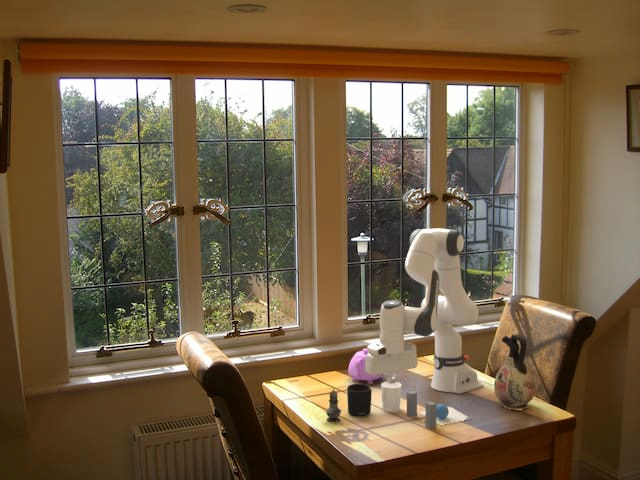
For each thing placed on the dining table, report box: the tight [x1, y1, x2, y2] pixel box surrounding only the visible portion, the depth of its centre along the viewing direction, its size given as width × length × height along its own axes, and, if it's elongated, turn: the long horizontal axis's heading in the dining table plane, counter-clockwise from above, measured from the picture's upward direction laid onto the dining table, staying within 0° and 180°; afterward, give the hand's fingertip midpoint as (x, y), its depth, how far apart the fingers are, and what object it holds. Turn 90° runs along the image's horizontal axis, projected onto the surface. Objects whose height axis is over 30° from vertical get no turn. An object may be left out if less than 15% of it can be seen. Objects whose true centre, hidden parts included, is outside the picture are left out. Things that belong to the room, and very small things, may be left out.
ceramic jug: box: [493, 334, 536, 410], centre depth 270 cm, size 17×15×30 cm
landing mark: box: [419, 406, 468, 426], centre depth 263 cm, size 14×14×1 cm
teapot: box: [348, 348, 384, 385], centre depth 306 cm, size 22×16×14 cm
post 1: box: [406, 390, 418, 418], centre depth 264 cm, size 3×3×9 cm
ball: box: [436, 403, 449, 419], centre depth 260 cm, size 6×6×6 cm
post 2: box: [424, 401, 437, 430], centre depth 252 cm, size 3×3×9 cm
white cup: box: [380, 381, 402, 413], centre depth 270 cm, size 8×8×10 cm
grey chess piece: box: [325, 389, 342, 423], centre depth 259 cm, size 6×6×12 cm
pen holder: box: [346, 383, 373, 418], centre depth 266 cm, size 9×9×10 cm
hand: (391, 382), depth 251 cm, fingers closed
